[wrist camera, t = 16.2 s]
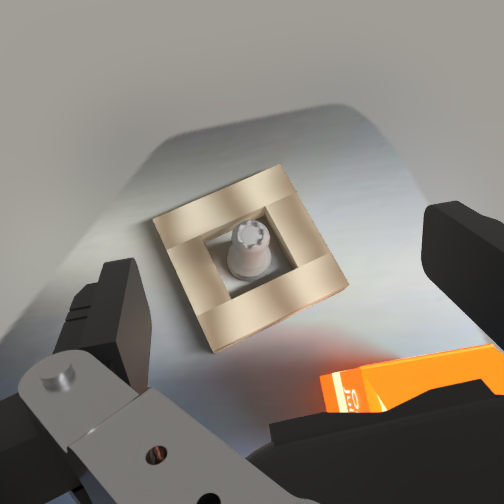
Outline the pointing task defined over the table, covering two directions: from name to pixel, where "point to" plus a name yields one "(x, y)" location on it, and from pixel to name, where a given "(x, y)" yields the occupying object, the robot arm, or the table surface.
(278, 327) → the table surface
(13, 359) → the table surface
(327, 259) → the wooden square ring
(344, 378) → the orange juice
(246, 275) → the rook chess piece
